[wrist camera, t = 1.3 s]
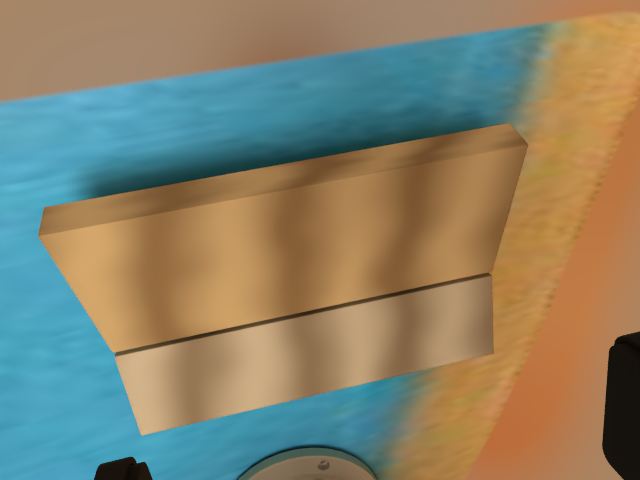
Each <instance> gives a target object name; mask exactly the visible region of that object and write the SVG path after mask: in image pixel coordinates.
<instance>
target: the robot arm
mask: <svg viewBox="0 0 640 480" xmlns="http://www.w3.org/2000/svg"><path fill="white" fill-rule="evenodd" d="M602 446H603V452H604V455H605V457H606V459H607V461H608V462H609V464H610V465H611V466H612V467H613V468H614V469H615V471H616V472H617V473H618V474H619V475H620V476H621V477H622V478H623V479H624V480H640V332H636V333H631V334H627V335H623V336H620V337H618V338H617V339H616V340H615V344H614V346H612V347H611V348H610V350H609V360H608V373H607V387H606V402H605V415H604V429H603V443H602ZM94 480H152V477H151V474H150V472H149V469H148V466H147V464H146V463H145V462H141V463H136V460H135V459H134V458H133V457H127V458H123V459H119V460H115V461H111V462H107V463H103V464H100V465H99V466H98V469H97V471H96V475H95V478H94ZM238 480H376V478H375V476H374V474H373V473H372V472H371V470H370V469H369V468H368V467H367V466H366V465H365V464H364V463H362V462H361V461H360V460H358V459H357V458H355V457H353V456H351V455H349V454H346V453H344V452H341V451H337V450H332V449H327V448H304V449H295V450H291V451H287V452H283V453H280V454H277V455H275V456H273V457H270V458H268V459H265V460H264V461H262V462H260V463H259V464H257V465H255V466H254V467H252V468H251V469H249V470H248V471H247V472H246V473H245V474H244V475H242V476H241V477H240V478H239V479H238Z"/></svg>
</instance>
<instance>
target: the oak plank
mask: <svg viewBox="0 0 640 480" xmlns="http://www.w3.org/2000/svg"><path fill="white" fill-rule="evenodd" d="M527 147H528V144H527V143H526V141H525V140H524V139H523V138H522V137H521V136H520V134H519V133H518V132H517V131H516V130H515V128H514V127H513V126H512V125H511V124H510V123H507V124H501V125H496V126H490V127H485V128H479V129H474V130H468V131H463V132H457V133H452V134H446V135H441V136H435V137H430V138H424V139H419V140H413V141H408V142H402V143H397V144H391V145H386V146H380V147H375V148H369V149H364V150H358V151H352V152H347V153H341V154H336V155H330V156H325V157H319V158H314V159H308V160H303V161H297V162H292V163H286V164H281V165H275V166H270V167H264V168H259V169H253V170H248V171H242V172H237V173H231V174H226V175H220V176H215V177H209V178H204V179H198V180H193V181H187V182H182V183H176V184H170V185H165V186H159V187H154V188H148V189H143V190H137V191H132V192H126V193H121V194H115V195H110V196H104V197H99V198H93V199H88V200H82V201H77V202H71V203H66V204H60V205H55V206H49V207H44V211H43V215H42V220H41V225H40V229H39V234H38V237H39V239H40V240H41V242H42V243H43V245H44V246H45V248H46V249H47V251H48V253H49V254H50V256H51V257H52V259H53V260H54V262H55V263H56V265H57V267H58V268H59V270H60V271H61V273H62V274H63V276H64V277H65V279H66V281H67V282H68V284H69V285H70V287H71V288H72V290H73V291H74V293H75V295H76V296H77V298H78V299H79V301H80V302H81V304H82V305H83V307H84V309H85V310H86V312H87V313H88V315H89V316H90V318H91V319H92V321H93V323H94V324H95V326H96V327H97V329H98V330H99V332H100V333H101V335H102V336H103V338H104V340H105V341H106V343H107V344H108V346H109V347H110V349H111V350H112V352H113V353H114V352H119V351H124V350H128V349H133V348H138V347H142V346H147V345H152V344H156V343H161V342H166V341H170V340H175V339H180V338H184V337H189V336H194V335H198V334H203V333H208V332H212V331H217V330H222V329H226V328H231V327H236V326H240V325H245V324H250V323H254V322H259V321H264V320H268V319H273V318H278V317H282V316H287V315H292V314H296V313H301V312H306V311H310V310H315V309H320V308H324V307H329V306H334V305H338V304H343V303H348V302H352V301H357V300H362V299H366V298H371V297H376V296H380V295H385V294H390V293H394V292H399V291H404V290H408V289H413V288H418V287H422V286H427V285H432V284H436V283H441V282H446V281H450V280H455V279H460V278H464V277H469V276H474V275H478V274H483V273H488V272H492V269H493V266H494V262H495V259H496V255H497V252H498V248H499V245H500V241H501V238H502V234H503V231H504V227H505V224H506V220H507V217H508V213H509V210H510V206H511V203H512V199H513V196H514V192H515V189H516V185H517V182H518V178H519V175H520V171H521V168H522V164H523V161H524V157H525V154H526V150H527Z"/></svg>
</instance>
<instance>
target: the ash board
mask: <svg viewBox="0 0 640 480" xmlns="http://www.w3.org/2000/svg"><path fill="white" fill-rule="evenodd" d="M493 353H494V347H493V301H492V275H490V274H489V273H483V274H478V275H474V276H469V277H464V278H460V279H455V280H450V281H446V282H441V283H436V284H432V285H427V286H422V287H418V288H413V289H408V290H404V291H399V292H394V293H390V294H385V295H380V296H376V297H371V298H366V299H362V300H357V301H352V302H348V303H343V304H338V305H334V306H329V307H324V308H320V309H315V310H310V311H306V312H301V313H296V314H292V315H287V316H282V317H278V318H273V319H268V320H264V321H259V322H254V323H250V324H245V325H240V326H236V327H231V328H226V329H222V330H217V331H212V332H208V333H203V334H198V335H194V336H189V337H184V338H180V339H175V340H170V341H166V342H161V343H156V344H152V345H147V346H142V347H138V348H133V349H128V350H124V351H119V352H116V354H115V360H116V363H117V366H118V369H119V372H120V375H121V378H122V381H123V383H124V386H125V389H126V392H127V395H128V398H129V401H130V404H131V407H132V410H133V413H134V416H135V419H136V421H137V424H138V427H139V430H140V433H141V435H146V434H150V433H154V432H159V431H163V430H167V429H171V428H176V427H180V426H184V425H189V424H193V423H197V422H201V421H206V420H210V419H214V418H219V417H223V416H227V415H232V414H236V413H240V412H244V411H249V410H253V409H257V408H262V407H266V406H270V405H274V404H279V403H283V402H287V401H292V400H296V399H300V398H305V397H309V396H313V395H317V394H322V393H326V392H330V391H335V390H339V389H343V388H347V387H352V386H356V385H360V384H365V383H369V382H373V381H378V380H382V379H386V378H390V377H395V376H399V375H403V374H408V373H412V372H416V371H420V370H425V369H429V368H433V367H438V366H442V365H446V364H450V363H455V362H459V361H463V360H468V359H472V358H476V357H481V356H485V355H489V354H493Z"/></svg>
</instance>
